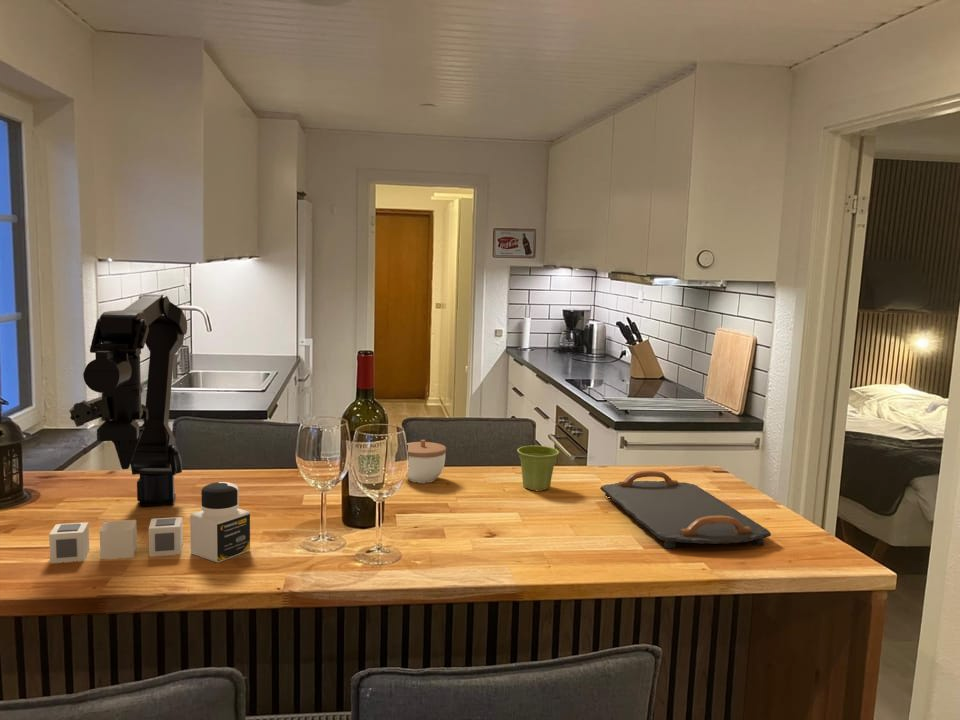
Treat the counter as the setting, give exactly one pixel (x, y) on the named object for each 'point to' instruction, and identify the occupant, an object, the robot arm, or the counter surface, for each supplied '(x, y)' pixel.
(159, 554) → the labelled cube a
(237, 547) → the medicine bottle
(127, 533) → the plain cube
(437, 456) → the lidded jar
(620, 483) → the serving board
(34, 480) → the counter surface
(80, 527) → the labelled cube
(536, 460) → the plant pot
